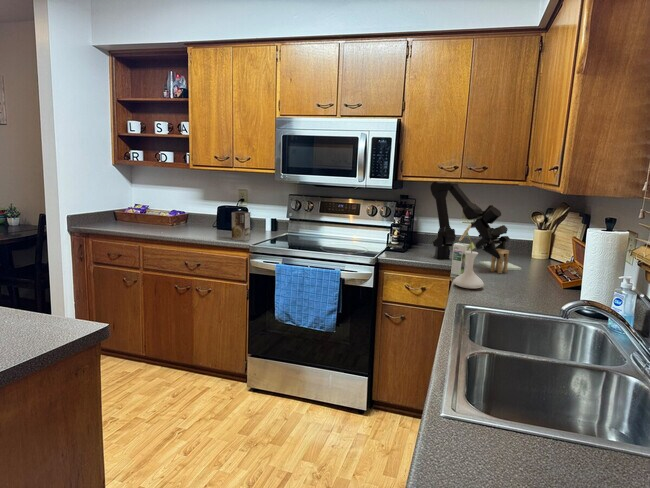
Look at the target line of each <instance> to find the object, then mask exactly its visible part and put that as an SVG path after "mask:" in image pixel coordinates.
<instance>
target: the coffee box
mask: <svg viewBox="0 0 650 488" xmlns="http://www.w3.org/2000/svg"><path fill="white" fill-rule="evenodd" d="M251 214H252V213H251V212H250V211H249V212H248V211H232V212H231V240H232V241H233V240H234V241H240V242H241V241H242V242H247V241H250V240H251Z"/></svg>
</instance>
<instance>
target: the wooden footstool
mask: <svg viewBox="0 0 650 488" xmlns="http://www.w3.org/2000/svg"><path fill="white" fill-rule="evenodd" d="M496 250H497V252H498V254H499V256H500V258H499V259H497V258H496V257H494V256H492V255H491V261H490V262H491V269H490V272H495V271H497V273H498V274H503V273H507V272H508V270H507V266H508V263H509V258H510V257H509V256H510V250H508V249H506V250H504V249H496ZM504 254H505V257H504ZM495 262H496V270H495ZM503 262H504V266H503ZM502 266H503V270H502Z"/></svg>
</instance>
